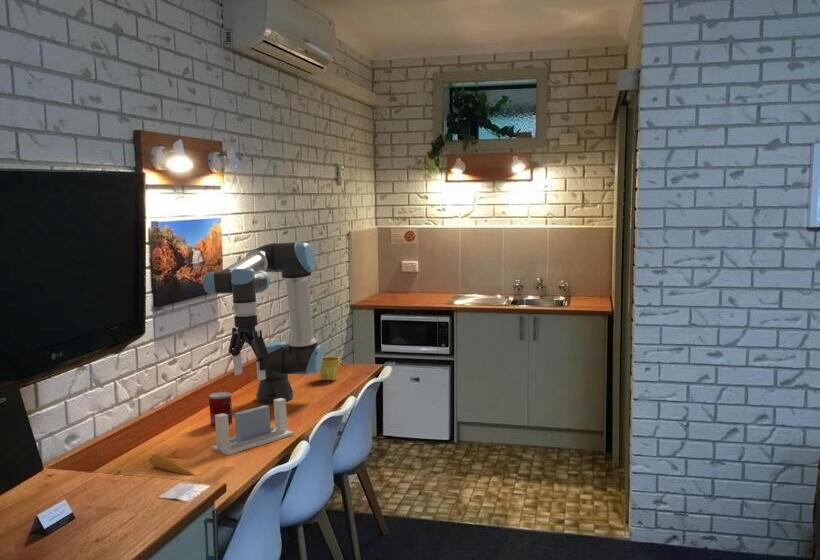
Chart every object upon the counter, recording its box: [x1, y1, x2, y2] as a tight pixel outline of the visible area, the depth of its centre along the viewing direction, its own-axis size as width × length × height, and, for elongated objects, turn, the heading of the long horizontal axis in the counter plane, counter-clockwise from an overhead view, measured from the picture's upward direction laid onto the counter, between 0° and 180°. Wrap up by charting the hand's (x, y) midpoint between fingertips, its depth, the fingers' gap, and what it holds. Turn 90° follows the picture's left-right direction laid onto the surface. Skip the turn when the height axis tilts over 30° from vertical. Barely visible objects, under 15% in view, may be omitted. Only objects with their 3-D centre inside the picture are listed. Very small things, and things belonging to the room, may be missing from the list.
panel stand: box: [211, 398, 295, 456], centre depth 242 cm, size 26×10×12 cm, turn 136°
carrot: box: [149, 452, 196, 476], centre depth 218 cm, size 20×4×4 cm, turn 59°
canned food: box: [208, 391, 233, 427], centre depth 265 cm, size 8×8×11 cm
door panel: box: [234, 405, 271, 443], centre depth 243 cm, size 12×2×10 cm, turn 136°
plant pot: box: [318, 356, 341, 380], centre depth 328 cm, size 10×10×10 cm
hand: (249, 377), depth 242 cm, fingers open, 13 cm apart
